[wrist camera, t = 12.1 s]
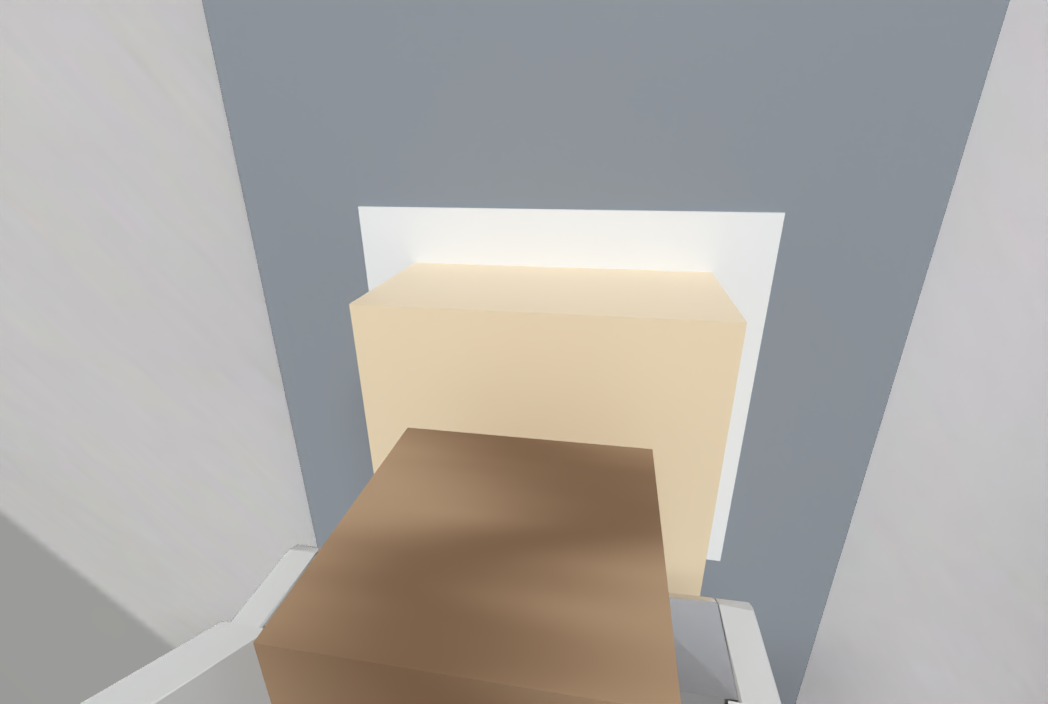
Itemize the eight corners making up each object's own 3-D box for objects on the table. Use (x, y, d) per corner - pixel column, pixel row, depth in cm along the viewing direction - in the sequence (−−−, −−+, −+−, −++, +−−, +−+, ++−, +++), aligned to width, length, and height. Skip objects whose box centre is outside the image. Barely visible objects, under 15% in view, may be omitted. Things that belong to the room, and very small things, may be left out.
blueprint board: (1009, -121, 10) (1333, -331, 6) (784, 674, 20) (837, 844, 15) (221, -62, 13) (0, -171, 8) (349, 611, 23) (279, 737, 18)
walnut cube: (652, 449, 9) (682, 713, 5) (632, 631, 11) (641, 939, 7) (407, 427, 10) (252, 643, 6) (426, 601, 11) (319, 863, 7)
